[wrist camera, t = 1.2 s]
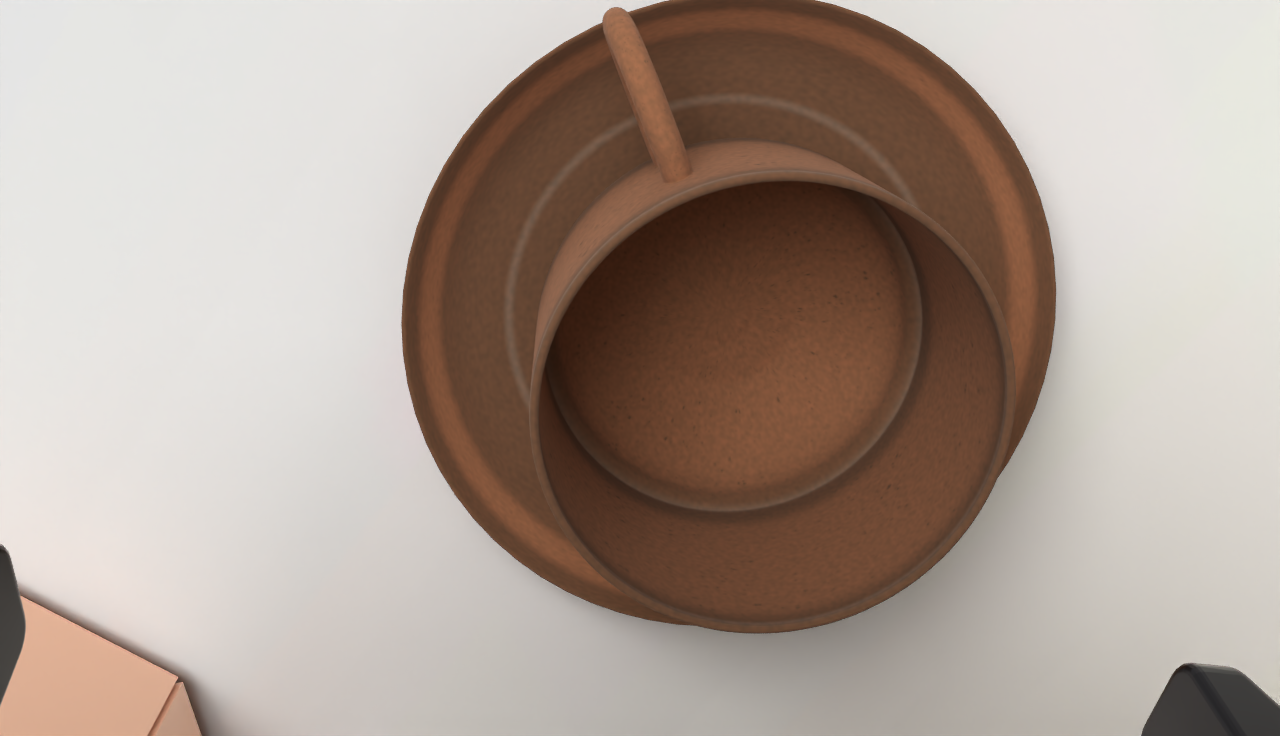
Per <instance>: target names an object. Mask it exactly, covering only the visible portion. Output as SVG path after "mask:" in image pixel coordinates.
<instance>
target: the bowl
mask: <svg viewBox="0 0 1280 736" xmlns="http://www.w3.org/2000/svg"><path fill="white" fill-rule="evenodd" d="M20 597H21V601H22V605H23V609H24V613H25V619H26V633H25V639H24V644H23V648H22V651H21V654H20V656H19V659H18V661H17V664H16V667H15V669H14V672H13V674H12V677H11V680H10V682H9V685H8V687H7V690H6V693H5V695H4V698H3V700H2V703H1V706H0V736H201V733H200V730H199V727H198V724H197V721H196V718H195V715H194V712H193V710H192V707H191V704H190V701H189V698H188V695H187V692H186V689H185V686H184V684H183V682H180V683H175V682H176V681H177V679H178V676H176V675H174V674H172V673H170V672H168V671H166V670H164V669H162V668H160V667H158V666H156V665H154V664H152V663H150V662H148V661H146V660H145V659H143V658H141V657H139V656H137V655H135V654H133V653H131V652H129V651H127V650H125V649H123V648H121V647H119V646H117V645H115V644H113V643H112V642H110V641H108V640H106V639H104V638H102V637H100V636H98V635H96V634H94V633H92V632H90V631H88V630H86V629H84V628H82V627H80V626H79V625H77V624H75V623H73V622H71V621H69V620H67V619H65V618H63V617H61V616H59V615H57V614H55V613H53V612H51V611H49V610H47V609H46V608H44V607H42V606H40V605H38V604H36V603H34V602H32V601H30V600H28V599H26V598H24V597H22V596H20Z"/></svg>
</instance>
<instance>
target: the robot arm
mask: <svg viewBox="0 0 1280 736" xmlns="http://www.w3.org/2000/svg"><path fill="white" fill-rule="evenodd" d="M25 633H26V619H25V613H24V609H23V605H22V601H21V597H20V593H19V589H18V585H17V581H16V577H15V573H14V569H13V565H12V561H11V558H10V555H9V552H8V551H7V549H6V548H5V547H4V546H3V545H2V544H0V706H1V703H2V700H3V698H4V695H5V693H6V690H7V687H8V685H9V682H10V680H11V677H12V674H13V672H14V669H15V667H16V664H17V661H18V659H19V656H20V654H21V651H22V648H23V644H24V639H25ZM1141 736H1280V706H1279V705H1278V704H1277V703H1276V702H1275V701H1274V700H1272V699H1271V698H1270V697H1269V696H1268V695H1267V694H1266V693H1265V692H1264V691H1262V690H1261V689H1260V688H1259V687H1258V686H1257V685H1256V684H1255V683H1254V682H1253V681H1251V680H1250V679H1249V678H1248V677H1247V676H1246V675H1244V674H1243V673H1242V672H1240V671H1238V670H1237V669H1234V668H1231V667H1226V666H1217V665H1207V664H1197V663H1186V664H1183V665H1182V666H1180V667H1179V668H1177V669H1176V670H1175V671H1174V673H1173V674H1172V676H1171V678H1170V680H1169V682H1168V683H1167V685H1166V687H1165V689H1164V691H1163V693H1162V694H1161V696H1160V698H1159V700H1158V702H1157V704H1156V705H1155V707H1154V709H1153V711H1152V713H1151V715H1150V716H1149V718H1148V720H1147V722H1146V724H1145V726H1144V728H1143V731H1142V735H1141Z"/></svg>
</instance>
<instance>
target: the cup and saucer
mask: <svg viewBox="0 0 1280 736" xmlns="http://www.w3.org/2000/svg"><path fill="white" fill-rule="evenodd" d="M1055 306H1056V282H1055V267H1054V256H1053V250H1052V245H1051V239H1050V233H1049V228H1048V224H1047V221H1046V217H1045V213H1044V210H1043V206H1042V203H1041V199H1040V196H1039V194H1038V191H1037V189H1036V186H1035V184H1034V181H1033V179H1032V176H1031V174H1030V172H1029V169H1028V167H1027V165H1026V163H1025V161H1024V159H1023V158H1022V156H1021V154H1020V152H1019V150H1018V148H1017V146H1016V144H1015V142H1014V141H1013V139H1012V138H1011V136H1010V135H1009V133H1008V132H1007V130H1006V129H1005V127H1004V126H1003V124H1002V123H1001V121H1000V120H999V118H998V117H997V115H996V114H995V113H994V112H993V110H992V109H991V108H990V107H989V106H988V105H987V103H986V102H985V101H984V100H983V99H982V97H981V96H980V95H979V94H978V93H977V92H976V90H975V89H974V88H973V87H972V86H971V85H969V84H968V83H967V82H966V81H965V80H964V79H963V78H962V77H961V76H960V75H959V74H958V73H957V72H956V71H955V70H954V69H953V68H952V67H950V66H949V65H948V64H946V63H945V62H944V61H943V60H941V59H940V58H939V57H937V56H936V55H935V54H933V53H932V52H931V51H929V50H928V49H927V48H926V47H924V46H922V45H921V44H919V43H917V42H916V41H914V40H912V39H911V38H909V37H908V36H906V35H904V34H903V33H901V32H899V31H898V30H896V29H894V28H891V27H889V26H887V25H885V24H883V23H881V22H879V21H877V20H874V19H872V18H870V17H868V16H866V15H863V14H860V13H857V12H854V11H851V10H848V9H845V8H842V7H840V6H837V5H833V4H829V3H825V2H820V1H816V0H669V1H664V2H660V3H657V4H653V5H650V6H647V7H643V8H640V9H637V10H633V11H630V12H626V11H625V10H624V9H622V8H618V7H614V8H611V9H609V10H608V11H607V12H606V13H605V14H604V17H603V23H601V24H598V25H596V26H594V27H592V28H590V29H588V30H586V31H584V32H583V33H581V34H579V35H577V36H575V37H573V38H572V39H570V40H568V41H566V42H564V43H563V44H561V45H560V46H558V47H557V48H555V49H554V50H552V51H551V52H549V53H548V54H546V55H545V56H543V57H542V58H541V59H539V60H538V61H536V62H535V63H533V64H532V65H531V66H530V67H529V68H528V69H526V70H525V71H524V72H523V73H522V74H520V75H519V76H518V77H517V78H516V79H514V80H513V81H512V82H511V83H510V84H508V85H507V86H506V87H505V88H504V89H503V91H502V92H501V93H500V94H499V95H498V96H497V97H496V98H495V99H494V100H493V101H492V102H491V103H490V104H489V105H488V106H487V107H486V108H485V109H484V110H483V111H482V113H481V114H480V115H479V116H478V118H477V119H476V120H475V121H474V123H473V124H472V125H471V126H470V128H469V129H468V130H467V132H466V133H465V134H464V135H463V137H462V138H461V140H460V141H459V143H458V144H457V146H456V147H455V149H454V151H453V152H452V154H451V155H450V157H449V158H448V160H447V162H446V163H445V165H444V166H443V168H442V170H441V172H440V174H439V176H438V178H437V180H436V182H435V184H434V186H433V188H432V190H431V192H430V194H429V196H428V199H427V202H426V204H425V207H424V209H423V212H422V215H421V217H420V220H419V223H418V225H417V228H416V232H415V236H414V239H413V243H412V247H411V251H410V254H409V258H408V264H407V270H406V277H405V283H404V289H403V305H402V343H403V357H404V363H405V370H406V376H407V383H408V387H409V391H410V395H411V399H412V403H413V407H414V411H415V414H416V417H417V420H418V422H419V425H420V428H421V430H422V433H423V436H424V439H425V441H426V444H427V446H428V448H429V450H430V452H431V454H432V456H433V458H434V460H435V462H436V464H437V466H438V468H439V470H440V472H441V473H442V475H443V476H444V478H445V479H446V481H447V483H448V484H449V486H450V487H451V489H452V491H453V492H454V494H455V495H456V497H457V498H458V499H459V501H460V502H461V503H462V504H463V506H464V507H465V508H466V510H467V511H468V512H469V513H470V515H471V516H472V517H473V519H474V520H475V521H476V522H477V523H478V524H479V525H480V526H481V527H482V528H483V529H484V530H485V531H486V532H487V533H488V534H489V535H490V536H491V538H492V539H493V540H494V541H496V542H497V543H498V544H499V545H500V546H501V547H502V548H504V549H505V550H506V551H507V552H508V553H509V554H511V555H512V556H513V557H514V558H515V559H516V560H518V561H519V562H521V563H522V564H523V565H525V566H526V567H528V568H529V569H531V570H532V571H533V572H535V573H536V574H538V575H539V576H540V577H542V578H544V579H546V580H547V581H549V582H551V583H553V584H554V585H556V586H558V587H560V588H561V589H563V590H565V591H567V592H569V593H571V594H573V595H575V596H578V597H580V598H582V599H584V600H586V601H589V602H591V603H593V604H596V605H599V606H602V607H605V608H608V609H610V610H613V611H616V612H619V613H623V614H627V615H631V616H635V617H639V618H643V619H647V620H652V621H659V622H665V623H671V624H678V625H693V626H700V627H704V628H709V629H714V630H720V631H727V632H737V633H779V632H789V631H797V630H803V629H808V628H813V627H817V626H822V625H825V624H829V623H832V622H836V621H839V620H842V619H845V618H848V617H850V616H853V615H855V614H858V613H860V612H863V611H865V610H867V609H869V608H871V607H873V606H875V605H877V604H879V603H881V602H883V601H885V600H887V599H889V598H890V597H892V596H894V595H895V594H897V593H899V592H900V591H902V590H903V589H905V588H906V587H908V586H909V585H911V584H912V583H913V582H915V581H916V580H917V579H919V578H920V577H921V576H922V575H924V574H925V573H926V572H927V571H929V570H930V569H931V568H932V567H933V566H934V565H935V564H936V563H938V562H939V561H940V560H941V559H942V558H943V557H944V556H945V555H946V554H947V553H948V552H949V551H950V550H951V548H952V547H953V546H954V545H955V544H956V543H957V542H958V541H959V539H960V538H961V537H962V536H963V534H964V533H965V532H966V531H967V529H968V528H969V527H970V525H971V524H972V522H973V521H974V520H975V518H976V517H977V515H978V514H979V512H980V510H981V509H982V507H983V505H984V504H985V502H986V500H987V498H988V496H989V494H990V493H991V491H992V489H993V486H994V484H995V482H996V480H997V478H998V477H999V475H1000V474H1001V472H1002V471H1003V469H1004V468H1005V466H1006V465H1007V463H1008V462H1009V460H1010V458H1011V456H1012V454H1013V453H1014V451H1015V449H1016V447H1017V445H1018V444H1019V442H1020V440H1021V438H1022V436H1023V434H1024V432H1025V430H1026V427H1027V425H1028V423H1029V420H1030V418H1031V416H1032V414H1033V411H1034V409H1035V406H1036V403H1037V400H1038V397H1039V394H1040V391H1041V388H1042V385H1043V382H1044V379H1045V375H1046V370H1047V366H1048V362H1049V357H1050V353H1051V348H1052V340H1053V332H1054V324H1055Z"/></svg>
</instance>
